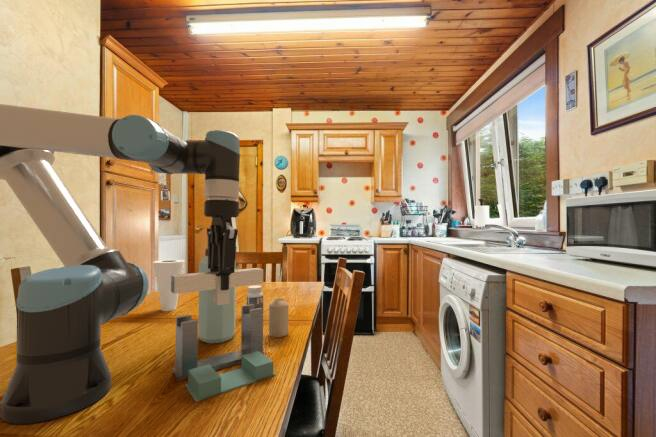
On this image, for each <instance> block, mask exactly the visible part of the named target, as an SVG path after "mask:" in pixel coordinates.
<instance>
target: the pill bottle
mask: <svg viewBox="0 0 656 437" xmlns="http://www.w3.org/2000/svg"><path fill="white" fill-rule="evenodd" d="M262 288H263V287H262V285H259V284H256V285H248V287H247V291H248V292H247V294H246V305H250V304H254V305H255V309H257V308H263V309H264V293H263V292H262V290H263V289H262Z"/></svg>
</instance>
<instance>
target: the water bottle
mask: <svg viewBox="0 0 656 437" xmlns="http://www.w3.org/2000/svg"><path fill="white" fill-rule="evenodd" d="M204 252H205V253H204V254H205V256H203V258H201V260H200V261H199V262H198V273H202V272H211V271H210V269H208V247H207V248H205V251H204ZM236 261H237V260H235V270H237V268H236V267H237V266H236V265H237V264H236ZM235 332H236V287H231V288H230V298H229V304H224V305H216V302H211V290H205V291H198V338H199V340H200V341H201V342H204V343H207V344H219V343H224V342H227V341H230V340H232V338H233V337H234V334H235Z"/></svg>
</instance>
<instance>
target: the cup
mask: <svg viewBox="0 0 656 437" xmlns="http://www.w3.org/2000/svg"><path fill="white" fill-rule="evenodd" d="M185 261H186V260H185V259H161V260H154V261H153V262H152V264H153V270H154V275H155V277H156V278H155V279H156V280H155V281H156V285H157V291H158V294H159V295H158V296H159V302H160V309H161V311H162V312H171V311H175V310H177V305H178V299H179V294H180V293H179V294H174V293H172V292H171V275H178V274H184V273H183V272H184V269H185V268H184V266H185V263H186V262H185Z"/></svg>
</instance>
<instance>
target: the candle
mask: <svg viewBox="0 0 656 437" xmlns="http://www.w3.org/2000/svg"><path fill="white" fill-rule="evenodd" d="M268 309H269V310H268V317H269V318H268V334H269V336H271V338H272V337H274V338H283V337H286V336H288V334H289V303H288V302H287V301H286V300H285V298H274V299H273V300H272V301H271V302H270V303H269V305H268Z"/></svg>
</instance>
